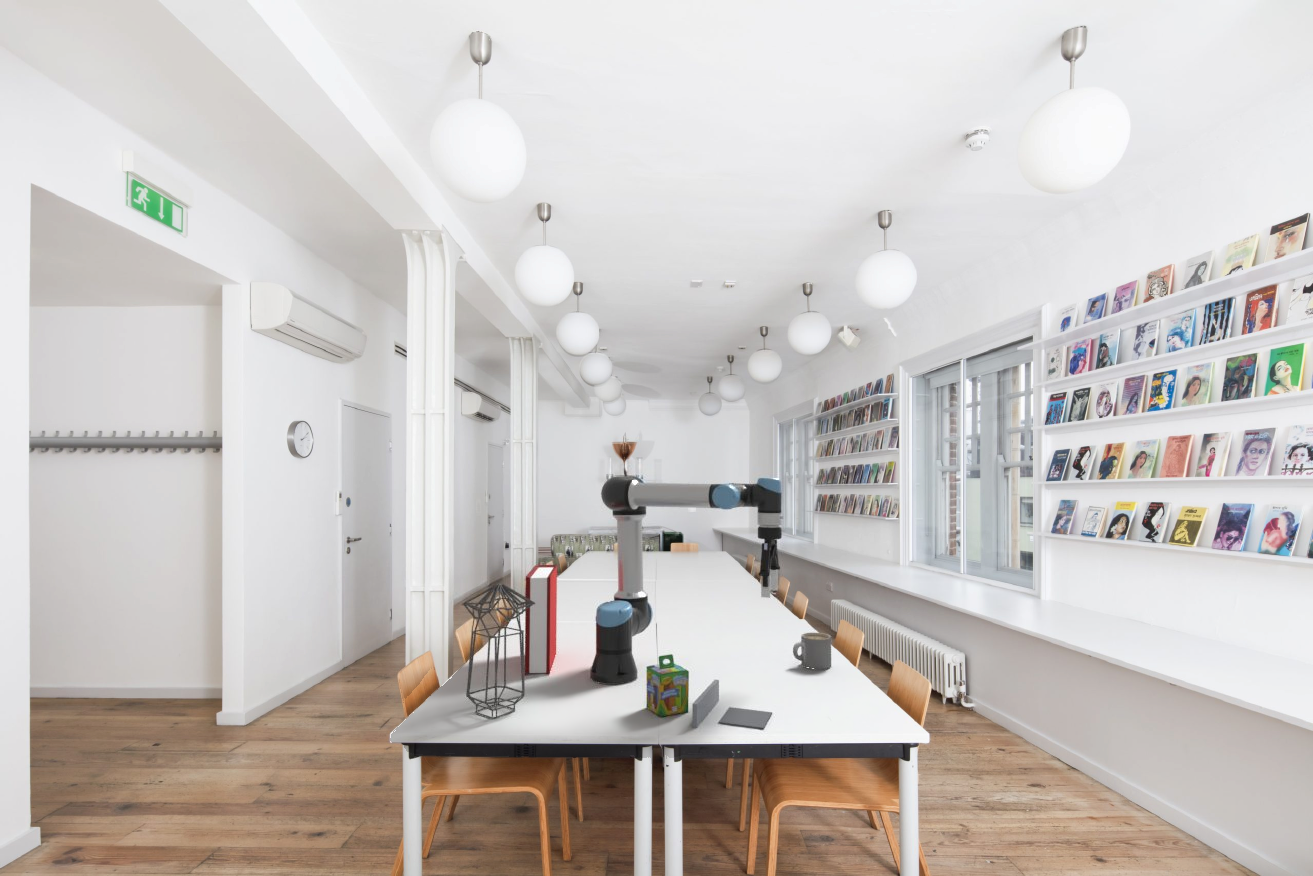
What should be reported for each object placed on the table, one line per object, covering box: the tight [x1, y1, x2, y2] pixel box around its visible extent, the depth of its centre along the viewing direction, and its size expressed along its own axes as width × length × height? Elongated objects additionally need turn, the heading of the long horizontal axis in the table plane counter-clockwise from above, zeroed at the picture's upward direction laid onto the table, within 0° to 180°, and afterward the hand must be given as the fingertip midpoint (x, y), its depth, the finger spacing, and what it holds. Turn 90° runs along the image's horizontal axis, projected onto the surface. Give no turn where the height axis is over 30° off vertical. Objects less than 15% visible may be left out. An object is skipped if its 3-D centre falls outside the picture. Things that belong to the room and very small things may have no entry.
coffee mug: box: [792, 632, 832, 670], centre depth 231 cm, size 13×10×10 cm
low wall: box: [691, 679, 720, 729], centre depth 185 cm, size 1×22×6 cm, turn 160°
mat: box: [717, 706, 773, 730], centre depth 181 cm, size 12×12×1 cm
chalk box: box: [646, 653, 690, 718], centre depth 188 cm, size 9×9×15 cm
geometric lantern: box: [461, 583, 535, 720], centre depth 188 cm, size 16×16×35 cm
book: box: [524, 564, 558, 676], centre depth 234 cm, size 27×8×32 cm, turn 4°
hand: (769, 593), depth 214 cm, fingers open, 13 cm apart
